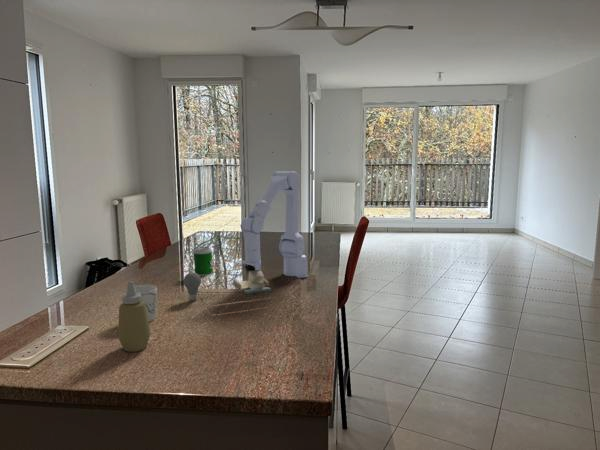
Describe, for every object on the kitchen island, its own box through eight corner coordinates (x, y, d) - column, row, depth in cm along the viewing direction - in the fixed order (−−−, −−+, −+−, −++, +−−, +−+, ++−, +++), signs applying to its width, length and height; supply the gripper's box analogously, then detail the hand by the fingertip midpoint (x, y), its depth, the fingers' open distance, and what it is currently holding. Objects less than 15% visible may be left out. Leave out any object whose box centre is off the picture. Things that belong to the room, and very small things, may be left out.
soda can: (208, 278, 183) (207, 250, 181) (191, 278, 185) (190, 249, 183) (215, 274, 190) (214, 246, 189) (199, 273, 192) (198, 246, 190)
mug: (133, 330, 129) (131, 297, 128) (115, 324, 134) (113, 292, 132) (164, 317, 139) (162, 287, 137) (146, 313, 143) (144, 283, 142)
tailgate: (266, 286, 167) (271, 288, 162) (267, 289, 167) (271, 291, 162) (242, 289, 164) (246, 291, 158) (242, 292, 164) (246, 294, 158)
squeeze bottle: (124, 342, 121) (119, 278, 118) (154, 340, 121) (150, 277, 119) (114, 355, 113) (109, 286, 110) (147, 353, 114) (142, 285, 111)
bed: (261, 281, 178) (261, 275, 177) (268, 288, 169) (268, 282, 168) (233, 285, 173) (233, 279, 173) (239, 292, 165) (238, 285, 164)
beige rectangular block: (259, 282, 167) (260, 269, 165) (263, 288, 163) (263, 275, 161) (248, 283, 165) (248, 270, 163) (251, 290, 162) (251, 277, 159)
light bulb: (205, 298, 158) (203, 271, 156) (196, 303, 152) (194, 275, 150) (190, 296, 159) (189, 269, 158) (181, 302, 154) (179, 274, 152)
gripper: (237, 246, 170) (238, 280, 172) (247, 253, 157) (248, 290, 159) (255, 244, 173) (255, 278, 175) (266, 252, 159) (266, 288, 162)
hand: (253, 284), depth 167 cm, fingers closed
